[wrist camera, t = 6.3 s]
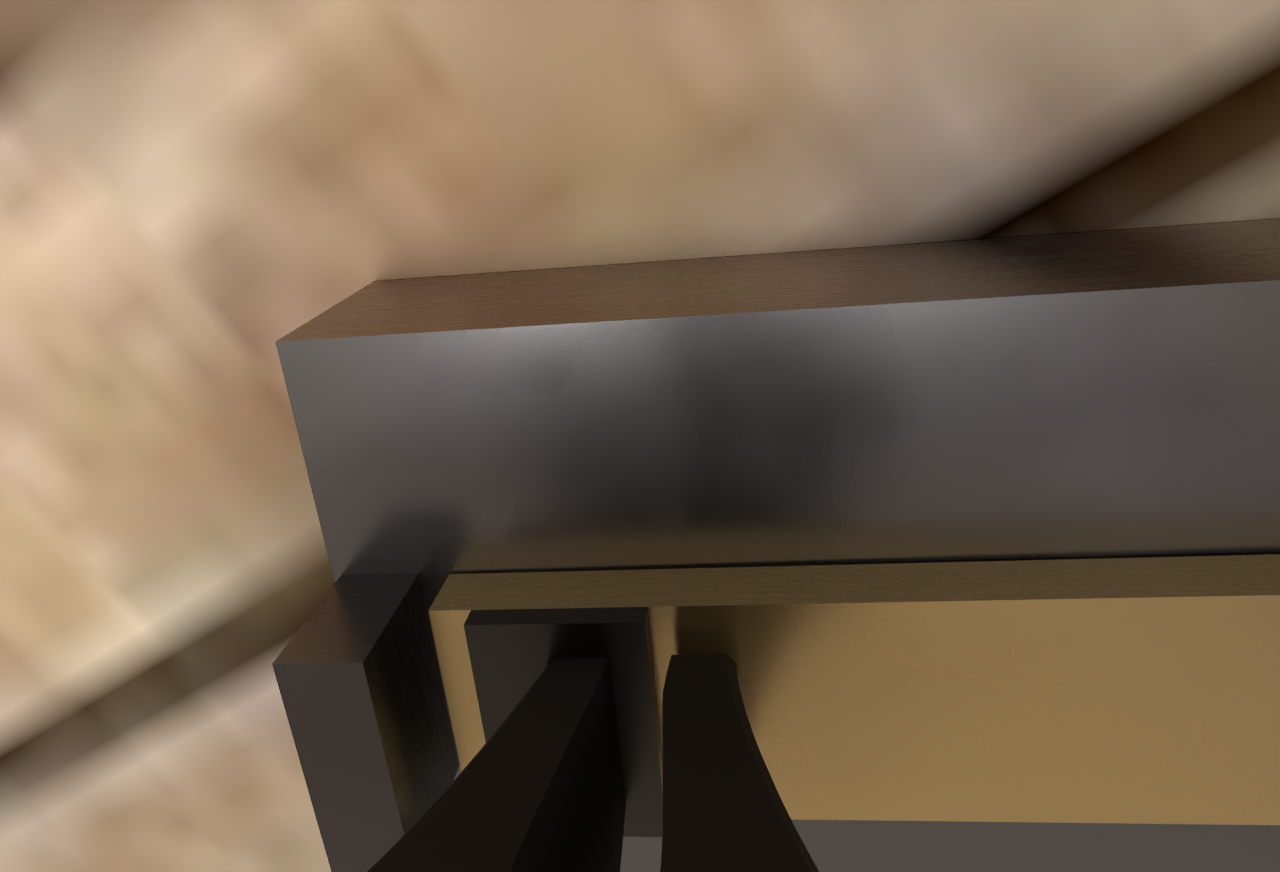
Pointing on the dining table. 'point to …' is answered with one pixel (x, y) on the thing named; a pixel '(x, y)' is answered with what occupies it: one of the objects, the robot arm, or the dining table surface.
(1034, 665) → the brass strap
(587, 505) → the grey flat block
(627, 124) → the dining table surface
